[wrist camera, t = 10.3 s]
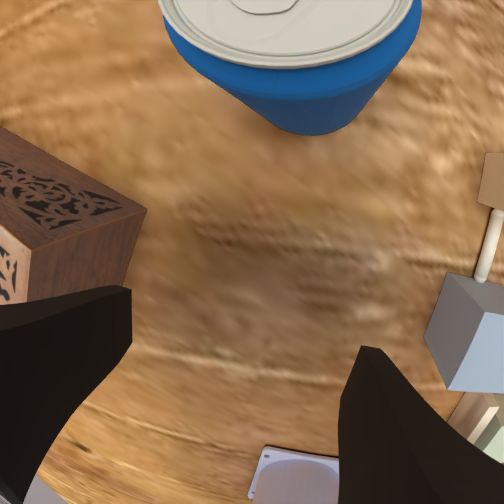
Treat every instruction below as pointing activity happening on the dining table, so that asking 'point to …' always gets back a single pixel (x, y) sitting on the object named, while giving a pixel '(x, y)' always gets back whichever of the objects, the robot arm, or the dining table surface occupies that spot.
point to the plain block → (494, 433)
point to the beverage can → (295, 53)
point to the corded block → (473, 307)
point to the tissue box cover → (58, 226)
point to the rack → (473, 414)
